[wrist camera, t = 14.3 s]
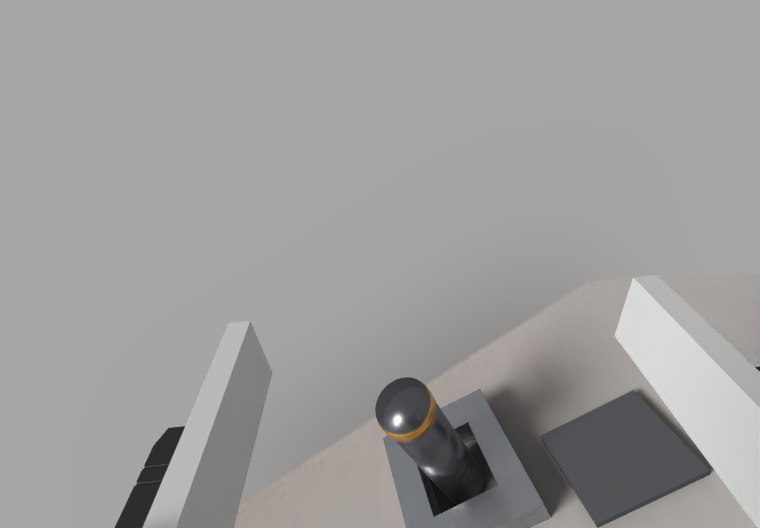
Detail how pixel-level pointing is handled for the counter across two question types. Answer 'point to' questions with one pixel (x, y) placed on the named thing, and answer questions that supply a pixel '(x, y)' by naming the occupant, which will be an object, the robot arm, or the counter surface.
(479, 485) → the cylinder
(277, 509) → the counter surface
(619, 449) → the mount
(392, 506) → the counter surface
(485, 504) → the socket
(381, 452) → the counter surface
